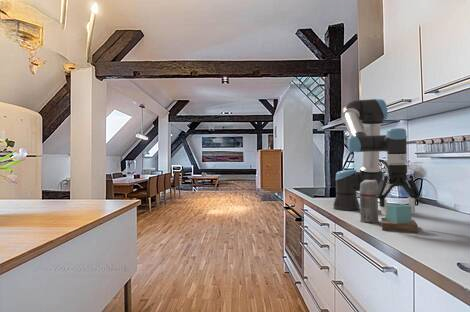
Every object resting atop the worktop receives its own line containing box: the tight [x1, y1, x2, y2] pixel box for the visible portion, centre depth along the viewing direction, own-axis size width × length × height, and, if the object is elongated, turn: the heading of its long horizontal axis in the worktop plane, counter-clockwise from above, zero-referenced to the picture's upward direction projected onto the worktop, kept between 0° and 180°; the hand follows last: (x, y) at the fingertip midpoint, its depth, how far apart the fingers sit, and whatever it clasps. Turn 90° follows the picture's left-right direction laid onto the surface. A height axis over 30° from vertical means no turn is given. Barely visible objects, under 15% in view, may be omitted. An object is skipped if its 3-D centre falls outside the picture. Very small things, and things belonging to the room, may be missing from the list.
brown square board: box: [380, 205, 419, 234], centre depth 135 cm, size 13×13×10 cm
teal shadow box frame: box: [385, 203, 412, 223], centre depth 135 cm, size 7×7×7 cm
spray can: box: [359, 180, 379, 224], centre depth 150 cm, size 8×8×20 cm
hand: (398, 213), depth 135 cm, fingers open, 13 cm apart
